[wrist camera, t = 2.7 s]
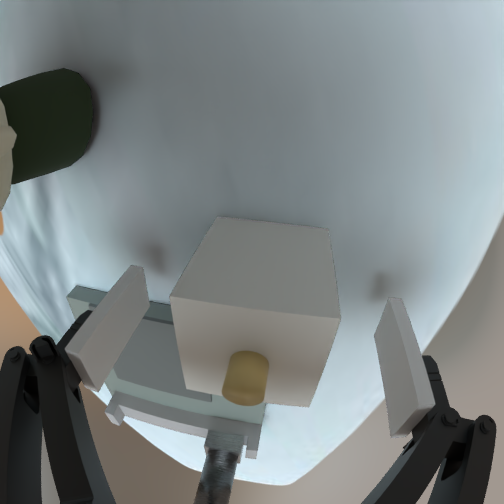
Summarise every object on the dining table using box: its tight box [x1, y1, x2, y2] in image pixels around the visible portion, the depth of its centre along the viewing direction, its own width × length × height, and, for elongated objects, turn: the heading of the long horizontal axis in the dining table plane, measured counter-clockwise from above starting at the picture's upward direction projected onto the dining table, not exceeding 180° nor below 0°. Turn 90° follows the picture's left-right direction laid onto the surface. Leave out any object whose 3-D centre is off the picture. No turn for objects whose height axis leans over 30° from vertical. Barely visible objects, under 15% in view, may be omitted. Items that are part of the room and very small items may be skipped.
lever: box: [194, 430, 244, 504], centre depth 19 cm, size 3×3×11 cm
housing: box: [169, 216, 341, 407], centre depth 14 cm, size 6×6×9 cm
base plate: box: [66, 286, 266, 459], centre depth 22 cm, size 15×16×4 cm
